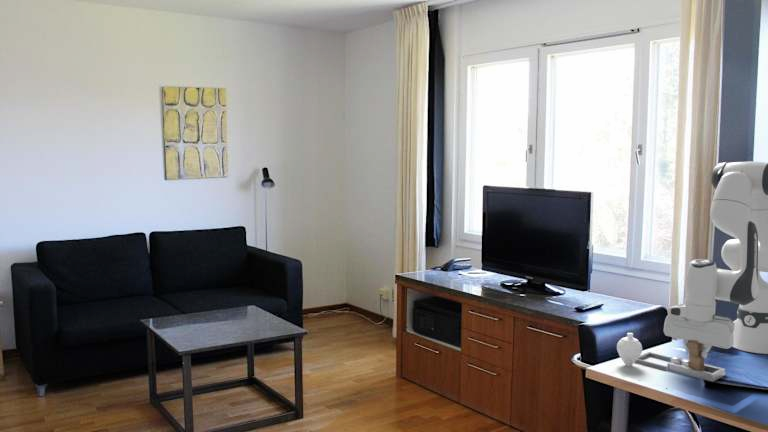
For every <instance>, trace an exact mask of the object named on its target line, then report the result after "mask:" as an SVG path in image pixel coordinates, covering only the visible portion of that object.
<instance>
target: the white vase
mask: <svg viewBox="0 0 768 432" xmlns="http://www.w3.org/2000/svg"><path fill="white" fill-rule="evenodd" d="M616 350H617V353H618V356H619V357H620V359H621V360H622V362H623V363H624V365H625V366H626V367H631V366H633V365H634V364H635V361H636V360H637V359H638V358H639V356H640V355H642V352H643V346H642V343H641V342H640V341H639V339H638V338H635V337H634V333H633V332H627V333H626V336H625V337H622V338H621V339H619V341H618V342H617V344H616Z"/></svg>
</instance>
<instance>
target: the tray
mask: <svg viewBox="0 0 768 432" xmlns="http://www.w3.org/2000/svg"><path fill="white" fill-rule="evenodd" d="M649 357H651V358H656V359H659V360H663V361H667V362H669V363H671V357H672V356H667V355H662V354H658V353H654V352H648V351H647V352H646V353H643V354H641V355H640V356H639V358H638V359H637V360H636V361H635V362H634V364H640V365H643V366H647V367H650V368H655V369H659V370H662V371H668V370H667V365H662V364H659V363H654V362H652V361H648V360H645V359H647V358H649Z"/></svg>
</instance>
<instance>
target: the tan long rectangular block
mask: <svg viewBox="0 0 768 432" xmlns="http://www.w3.org/2000/svg"><path fill="white" fill-rule="evenodd" d="M704 350H705V349H704V344H702V343H698V341H692V340H689V357H688V358H689V360H690V368H694V369H698V370H702V371H704V364H705V358H701V357H700V352H701V351H704Z"/></svg>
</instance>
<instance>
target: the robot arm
mask: <svg viewBox="0 0 768 432" xmlns="http://www.w3.org/2000/svg"><path fill="white" fill-rule="evenodd" d="M710 180H711V185H712V187H713V188H714V189H715V192H714V195H713V196H712V197H713V198H712V202H711V205H710V211H709V217H710V221H711V222H712V224H713V226H714V227H715V228H717V229H718V230H719V231H721V232H722V233H725V234H726V235H729V236H730V237H733V238H731V239H728V240H726V241H725V242H724V244H723V245H722V247H721V251H720V252H721V255H720V256H721V259H722V261H723V263H724V264H725V265H726V266H727V267H729V269H724V268H718V267H717V264H716V263H717V262H715V261H714V260H712V259H708V258H696V259H693V260H690V262H689V264H688V266H687V270H686V276H685V283H684V284H685V285H684V289H685V297H684V299H683V300H684V301H683V302H684V303H683V304H676V305H673V306H670V307H668V308H667V315H666V317H665V319H664V323H663V333H664V335H665V336H666V337H669V338H670V337H671V338H675V339H679V340H683V341H682V343H683V345H684V347H685V352H686V355H689V340H692V341H698V343H702V344H703V348H705V349H704V351H701V352H700V357H701V358H704V359H706V358H707V357H708V352H709V351H710V350H711V348H712V347H717V348H720V349H724V350H725V349H727V350H728V349H730V348H734V349H737V350H740V351H743V352H748V353H752V354H753V353H755V354H762V355H763V354H764V355H768V281H766V280H764V279H763V278H762V276H761V274H760V272H762V273H768V162H762V161H754V160H753V161H749V160H748V161H735V162H734V161H733V162H732V161H731V162H730V161H724V162H723V161H722V162H718V163H717V165H715V167H713V170H712V172H711V179H710ZM730 269H731V270H730ZM716 300H718V301H724V302H730V303H733V304H737V305H739V306H738V307H737V311H736V319H735V320H734V321H733V320H732V319H731V318H730V317H726V316H721V315H716V309H717V307H716V306H717V302H716Z"/></svg>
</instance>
